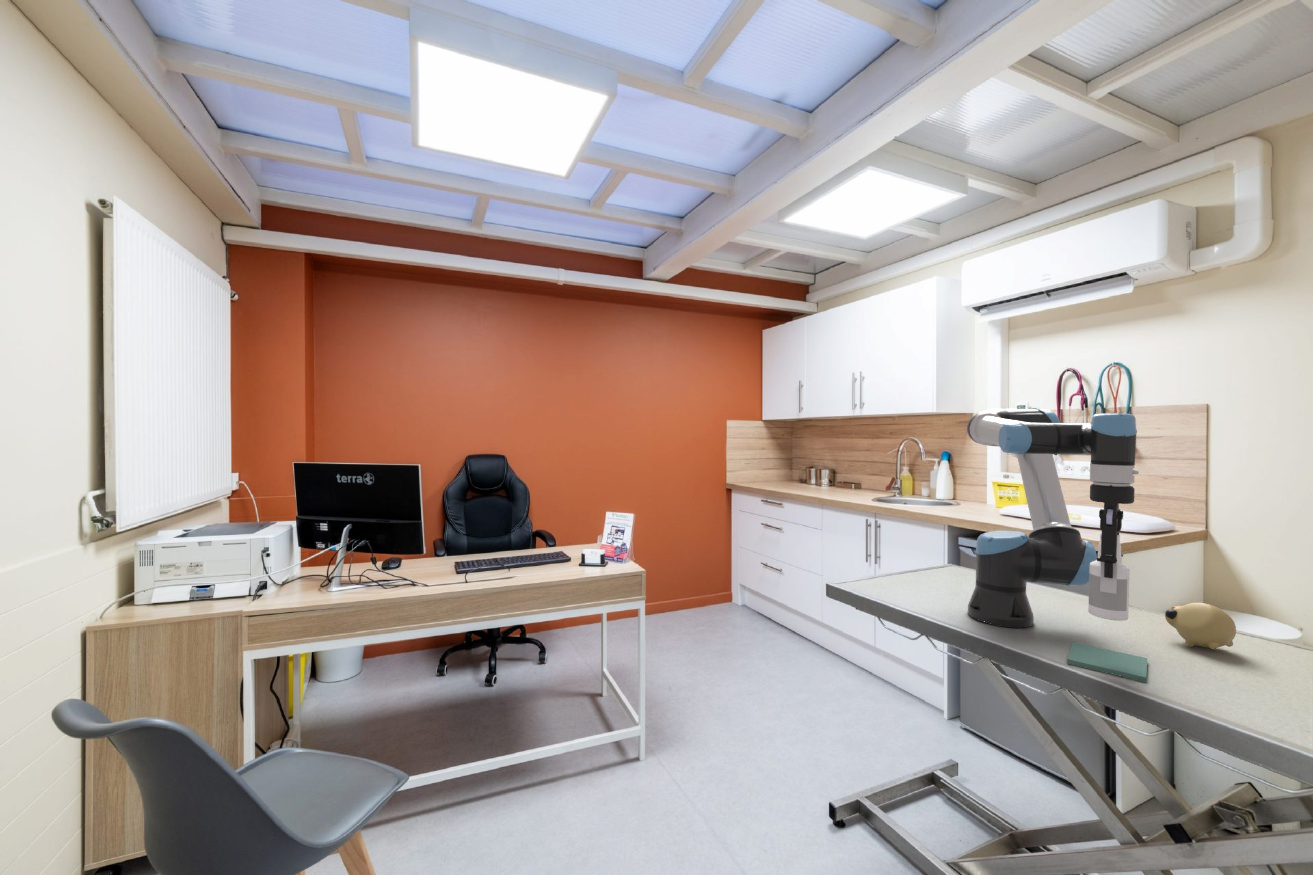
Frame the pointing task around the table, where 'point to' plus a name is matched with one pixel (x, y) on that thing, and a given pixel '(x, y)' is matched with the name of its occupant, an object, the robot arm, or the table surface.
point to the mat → (1108, 661)
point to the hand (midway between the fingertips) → (1109, 588)
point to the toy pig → (1202, 625)
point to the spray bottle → (1108, 602)
